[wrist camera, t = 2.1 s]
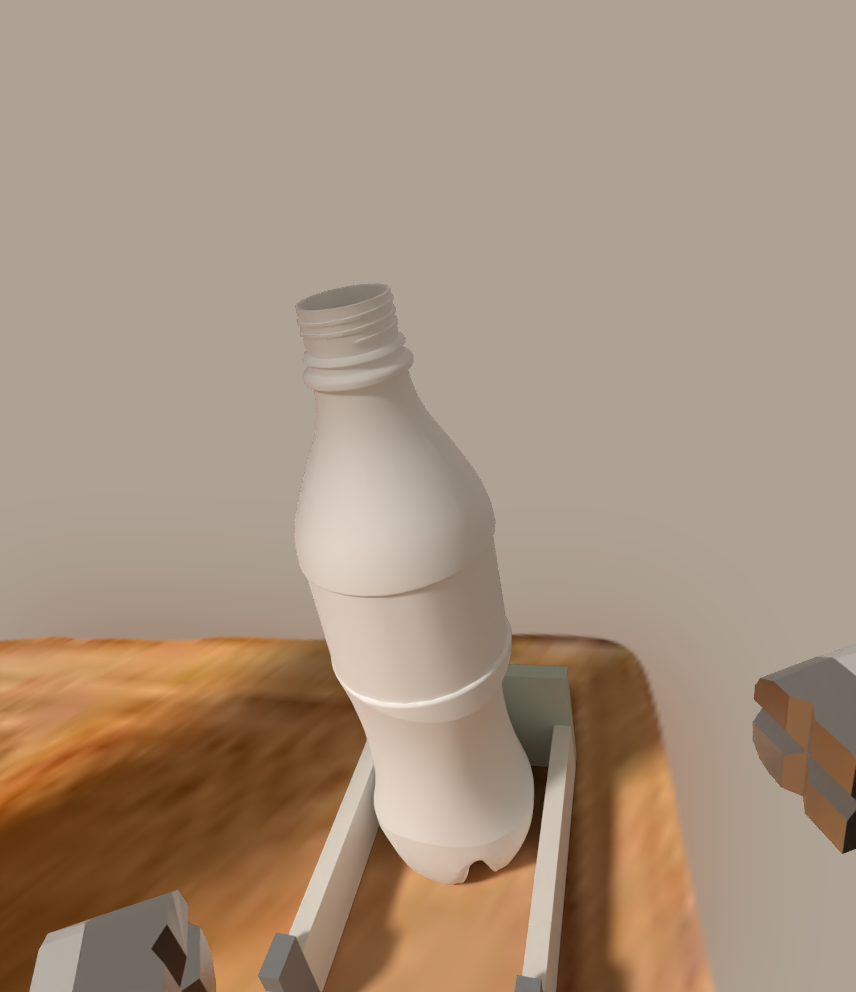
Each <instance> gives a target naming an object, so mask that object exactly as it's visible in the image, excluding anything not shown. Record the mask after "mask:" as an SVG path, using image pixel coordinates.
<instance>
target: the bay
mask: <svg viewBox="0 0 856 992" xmlns="http://www.w3.org/2000/svg"><path fill="white" fill-rule="evenodd" d="M502 690H503V696H504V700H505V705H506V709H507V713H508V716H509V719H510V722H511V724H512V727H513V729H514V732H515V734H516V736H517V738H518V740H519V742H520V744H521V746H522V747H523V749H524V751H525V753H526V755H527V757H528V760H529V763H530V765H531V766H542V767H549V768H548V776H547V784H546V792H545V800H544V808H543V816H542V823H541V831H540V839H539V847H538V855H537V863H536V871H535V879H534V887H533V895H532V903H531V910H530V918H529V926H528V934H527V942H526V950H525V958H524V966H523V974H522V976H520V975H517V979H516V987H515V992H556V986H557V975H558V963H559V952H560V941H561V929H562V918H563V906H564V895H565V883H566V872H567V861H568V849H569V838H570V826H571V815H572V803H573V792H574V781H575V769H576V758H577V755H576V745H575V736H574V726H573V716H572V706H571V697H570V687H569V677H568V667H566V666H544V665H521V664H509V665H508V668H507V671H506V674H505V676H504V678H503V681H502ZM374 790H375V768H374V762H373V758H372V754H371V750H370V746H369V743H368V740H367V742H366V744H365V746H364V749H363V751H362V754H361V756H360V759H359V761H358V764H357V766H356V769H355V771H354V774H353V776H352V779H351V781H350V784H349V786H348V789H347V791H346V794H345V796H344V799H343V801H342V803H341V806H340V808H339V811H338V813H337V816H336V818H335V821H334V823H333V826H332V828H331V831H330V833H329V836H328V838H327V841H326V843H325V846H324V848H323V851H322V853H321V856H320V858H319V860H318V863H317V865H316V868H315V870H314V873H313V875H312V878H311V880H310V883H309V885H308V888H307V890H306V893H305V895H304V898H303V900H302V903H301V905H300V908H299V910H298V913H297V915H296V917H295V920H294V922H293V925H292V927H291V930H290V932H289V935H286V934H281V933H276V934H275V936H274V939H273V941H272V943H271V946H270V948H269V951H268V953H267V955H266V958H265V960H264V963H263V965H262V967H261V970H260V972H259V975H258V977H259V978H260V980H261V982H262V984H263V986H264V988H265V990H266V992H323V989H324V986H325V983H326V980H327V977H328V974H329V971H330V968H331V966H332V963H333V960H334V957H335V954H336V951H337V948H338V945H339V942H340V939H341V936H342V933H343V930H344V927H345V925H346V922H347V919H348V916H349V913H350V910H351V907H352V904H353V901H354V898H355V895H356V892H357V889H358V886H359V884H360V881H361V878H362V875H363V872H364V869H365V866H366V863H367V860H368V857H369V854H370V851H371V848H372V845H373V843H374V840H375V837H376V834H377V831H378V828H379V825H380V824H379V822H378V819H377V815H376V812H375V808H374Z"/></svg>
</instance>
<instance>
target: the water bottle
mask: <svg viewBox="0 0 856 992" xmlns="http://www.w3.org/2000/svg"><path fill="white" fill-rule="evenodd" d="M295 307H296V312H297V316H298V319H297V322H298V326H300V329H301V330H300V336H301V337H303V341H304V345H305V348H306V351H305V353H304V355H303V362H304V364H306V365H308V367H307V369H306V370H305V371H304V373H303V380H304V384H305V385H306V386H307V387H309V388H310V389H313V390H314V394H315V400H316V426H315V434H314V438H313V443H312V447H311V451H310V454H309V458H308V462H307V465H306V469H305V472H304V476H303V481H302V486H301V490H300V495H299V500H298V504H297V509H296V516H295V525H294V531H295V545H296V553H297V558H298V562H299V565H300V569H301V571H302V572H303V573H304V575H305V576H306V577H307V579H308V582H309V586H310V589H311V592H312V595H313V599H314V602H315V605H316V608H317V612H318V615H319V619H320V622H321V625H322V629H323V631H324V635H325V639H326V642H327V645H328V648H329V652H330V655H331V661H332V666H333V670H334V672H335V675H336V677H337V679H338V680H339V682H340V683H341V685H342V686H343V688H344V689H345V691H346V693H347V695H348V696H349V698H350V700H351V702H352V704H353V705H354V708H355V710H356V712H357V714H358V716H359V719H360V721H361V723H362V725H363V728H364V731H365V734H366V737H367V740H368V743H369V746H370V750H371V754H372V758H373V762H374V768H375V790H374V808H375V812H376V815H377V819H378V822H379V824H380V827H381V829H382V830H383V832H384V833H385V835H386V836H387V838H388V839H389V841H390V842H391V844H392V845H393V847H394V848H395V850H396V851H397V853H398V854H399V855H400V857H401V858H402V859H403V860H404V861H405V863H406V864H407V865H408V866H409V867H410V868H412V869H413V870H414V871H415V872H417V873H418V874H420V875H421V876H423V877H425V878H427V879H430V880H432V881H435V882H437V883H441V884H446V885H452V884H457V883H463V882H464V881H465V879H466V877H467V875H468V871H469V867H470V865H471V864H472V863H474V862H475V861H478V860H481V861H483V862H484V863H486V864H487V865H488V866H489V867H490V868H491V869H492V870H493V871H494V872H496V871H497V870H499V869H501V868H503V867H505V866H507V865H508V864H509V862H510V861H511V860H512V859H513V858H514V856H515V855H516V854H517V852H518V851H519V849H520V848H521V846H522V844H523V842H524V840H525V838H526V836H527V833H528V830H529V828H530V825H531V820H532V814H533V806H534V781H533V774H532V770H531V766H530V763H529V760H528V757H527V755H526V753H525V751H524V749H523V747H522V746H521V744H520V742H519V740H518V738H517V736H516V734H515V732H514V729H513V727H512V724H511V722H510V719H509V716H508V713H507V709H506V705H505V700H504V696H503V690H502V681H503V678H504V676H505V674H506V671H507V668H508V665H509V660H510V655H511V647H512V632H511V627H510V624H509V622H508V620H507V618H506V616H505V611H504V604H503V598H502V591H501V584H500V578H499V572H498V565H497V558H496V551H495V545H494V538H493V535H494V532H495V518H494V513H493V509H492V505H491V502H490V499H489V497H488V494H487V492H486V490H485V488H484V485H483V484H482V481H481V480H480V478H479V476H478V475H477V473H476V471H475V470H474V468H473V467H472V466H471V464H470V463H469V462H468V460H467V459H466V458H465V456H464V455H463V454H462V452H461V451H460V450H459V449H458V447H457V446H456V445H455V443H454V442H453V441H452V440H451V439H450V438H449V436H448V435H447V434H446V433H445V432H444V431H443V429H442V428H441V427H440V426H439V425H438V424H437V422H436V421H435V420H434V419H433V418H432V416H431V415H430V414H429V412H428V411H427V410H426V409H425V407H424V406H423V404H422V402H421V400H420V398H419V397H418V395H417V393H416V390H415V388H414V386H413V383H412V381H411V378H410V375H409V371H408V369H409V368H410V367H411V366H412V364H413V362H414V361H413V354H412V352H411V351H410V350H409V349H407V348H406V347H403V344H404V343H405V337H404V335H403V334H402V333H401V332H399V331H398V327H397V324H398V322H397V316H395V312H396V308H395V306H394V304H393V294H391V291H390V288H389V287H388V285H384V284H361V285H353V286H347V287H342V288H337V289H333V290H329V291H325V292H322V293H319V294H316V295H313V296H310V297H308V298H306V299H303V300H301V301H300V302H299V303H297V304H296V305H295Z"/></svg>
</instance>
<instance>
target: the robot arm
mask: <svg viewBox="0 0 856 992" xmlns="http://www.w3.org/2000/svg"><path fill="white" fill-rule="evenodd" d="M754 700H755V701H756V702H757V703H758V704H759V705H760V706H761V707H762V709H761V711H760V712H759V714H758V715H757V717H756V718H755V720H754V721H753V742H754V744H755V747H756V750H757V752H758V755H759V758H760V760H761V761H762V763H763V765H764V766H765V768H766V769H767V771H768V772H769V774H770V775H771V776H772V777H773V778H774V779H775V780H776V782H777V783H778V784H779V785H780V786H781V787H782V788H784V789H787V790H789V791H792V792H794V793H796V794H799V795H801V796H803V801H804V809H805V814H806V815H807V816H808V817H809V818H810V819H811V820H812V821H813V823H815V825H816V826H817V827H818V828H819V829H820V830H821V831H822V832H823V833H824V834H825V836H826V837H827V838H828V839H829V840H830V841H831V842H832V843H833V844H834V845H835V847H836V848H837V849H838V850H839V851H840V852H841V853H842V854H843V853H846V852H849V851H852V850H854V849H856V645H855V644H854V645H851V646H848V647H845V648H842V649H839V650H837V651H834V652H831V653H828V654H826V655H823V656H821V657H815V658H813V659H810V660H807V661H804V662H802V663H799V664H797V665H794V666H791V667H789V668H786V669H783V670H781V671H778V672H775V673H773V674H770V675H767V676H765V677H762V678H760V679H759V681H758V682H757V684H756V685H755V693H754ZM29 992H216V980H215V973H214V967H213V960H212V955H211V952H210V948H209V945H208V942H207V939H206V937H205V935H204V933H203V932H202V930H201V928H200V927H199V926H196V925H193V924H190V923H188V904H187V903H186V901H185V900H184V898H183V896H182V895H181V893H180V892H179V890H176V891H172V892H169V893H166V894H163V895H160V896H157V897H154V898H151V899H148V900H145V901H142V902H139V903H136V904H133V905H130V906H127V907H124V908H121V909H118V910H115V911H112V912H109V913H106V914H103V915H100V916H97V917H94V918H91V919H88V920H86V921H83V922H80V923H77V924H74V925H71V926H68V927H65V928H63V929H60V930H57V931H54V932H51V933H48V934H47V936H46V938H45V940H44V942H43V943H42V945H41V947H40V949H39V951H38V955H37V960H36V964H35V969H34V973H33V977H32V982H31V986H30V991H29Z"/></svg>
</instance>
